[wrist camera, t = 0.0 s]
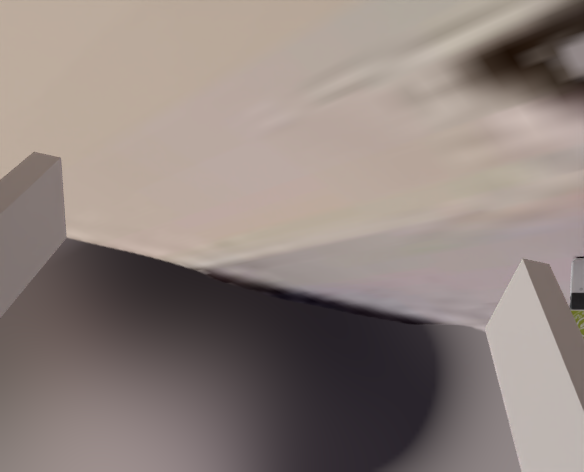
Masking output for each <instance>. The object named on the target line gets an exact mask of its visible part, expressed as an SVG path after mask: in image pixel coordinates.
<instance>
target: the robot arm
mask: <svg viewBox="0 0 584 472" xmlns="http://www.w3.org/2000/svg"><path fill="white" fill-rule="evenodd" d="M65 239H66V224H65V209H64V195H63V180H62V165H61V158H60V157H55V156H51V155H46V154H42V153H37V152H33V153H32V154H31V155H29V156H28V157H27V158H26V159H25V160H24V161H22V162H21V163H20V164H19V165H18V166H16V167H15V168H14V169H13V170H12V171H10V172H9V173H8V174H7V175H6V176H4V177H3V178H2V179H1V180H0V317H1V316H2V315H3V314H4V313H5V312H6V310H7V309H8V308H9V307H10V306H11V304H12V303H13V302H14V301H15V299H16V298H17V297H18V296H19V295H20V293H21V292H22V291H23V290H24V289H25V287H26V286H27V285H28V284H29V282H30V281H31V280H32V279H33V278H34V276H35V275H36V274H37V273H38V271H39V270H40V269H41V268H42V267H43V266H44V264H45V263H46V262H47V261H48V259H49V258H50V257H51V256H52V255H53V253H54V252H55V251H56V250H57V249H58V247H59V246H60V245H61V244H62V242H63V241H64V240H65ZM485 331H486V335H487V339H488V343H489V346H490V350H491V354H492V358H493V362H494V366H495V370H496V374H497V378H498V381H499V386H500V389H501V393H502V397H503V401H504V405H505V409H506V413H507V417H508V421H509V424H510V428H511V432H512V436H513V440H514V444H515V448H516V452H517V455H518V460H519V463H520V467H521V471H522V472H584V338H583V336H582V334H581V332H580V330H579V327H578V325H577V323H576V321H575V319H574V317H573V315H572V312H571V310H570V308H569V306H568V304H567V302H566V299H565V297H564V295H563V293H562V291H561V289H560V286H559V284H558V282H557V280H556V278H555V276H554V274H553V271H552V269H551V267H550V265H549V264H546V263H541V262H536V261H532V260H527V259H523V258H522V260H521V262H520V264H519V266H518V268H517V270H516V271H515V273H514V275H513V277H512V279H511V281H510V283H509V285H508V286H507V288H506V290H505V292H504V294H503V296H502V298H501V300H500V301H499V303H498V305H497V307H496V309H495V311H494V313H493V314H492V316H491V318H490V320H489V322H488V324H487V326H486V328H485Z"/></svg>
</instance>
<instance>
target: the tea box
mask: <svg viewBox="0 0 584 472" xmlns="http://www.w3.org/2000/svg"><path fill="white" fill-rule="evenodd" d="M570 300H571V301H570V310H571V312H572V315H573V317H574V319H575V321H576V323H577V325H578V327H579V330H580V332H581V334H582V336H583V338H584V258H576V259H574V261H573V262H572V268H571V286H570Z"/></svg>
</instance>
